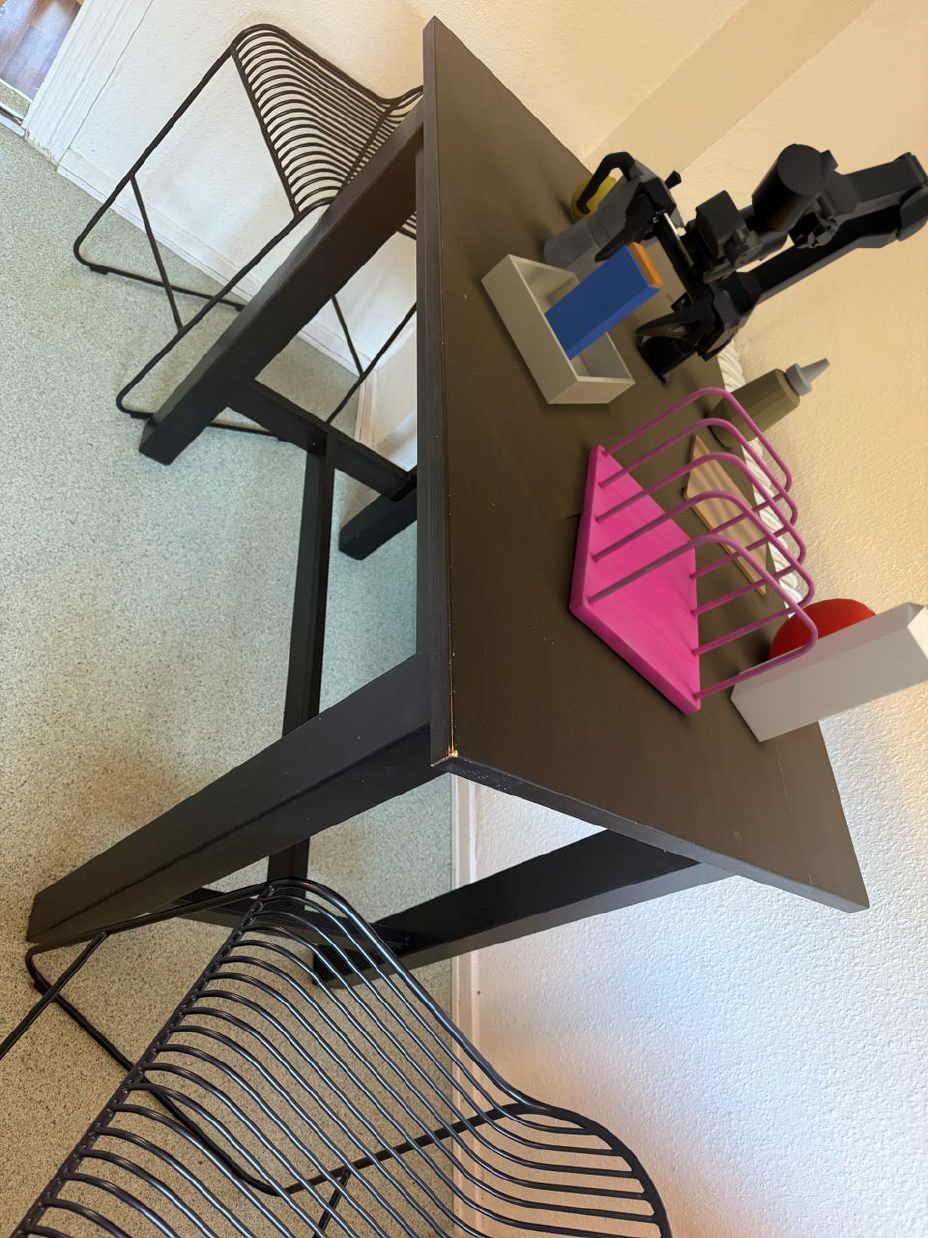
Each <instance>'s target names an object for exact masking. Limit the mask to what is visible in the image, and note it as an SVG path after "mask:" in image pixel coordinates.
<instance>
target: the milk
mask: <svg viewBox="0 0 928 1238" xmlns="http://www.w3.org/2000/svg"><path fill="white" fill-rule="evenodd" d="M802 647H803V646H802ZM799 648H801V647H799ZM799 648H797V649H799ZM797 649H795V650H797ZM795 650H792V651H790V652H788V653H785V654H783V655H780V656H778V657H776V658H773V659H771V660H769V659H768V660H767V661H764V662H762V663H759V664H757V665H755V666H753V667H750V668H748V669H745V670H743V671H741V672H739V673H738V675H740V674H742V673H744V672H747V671H749V670H752V669H754V668H756V667H758V666H761V665H763V664H766V663H768V662H770V661H773V660H775V659H777V658H779V657H782V656H784V655H786V654H789V653H791V652H793V651H795ZM926 682H928V604H919V603H915V602H911V601H906V602H903V603H901V604H899V605H896V606H894V607H891V608H889V609H887V610H885V611H883V612H880V613H876V615H875V616H872V617H870V618H868V619H865V620H863V621H861V622H858V623H856V624H854V625H851V626H849V627H846V628H844V629H842V630H839V631H837V632H835V633H832V634H830V635H828V636H825V637H823V638H821V639H818V640H817V642H816V644H815V646H814V647H813V648H812V649H811V650H810V651H809V652H807V653H806V654H804V655H802V656H800V657H798V658H796V659H794V660H791V661H789V662H787V663H785V664H782V665H780V666H777V667H775V668H773V669H770V670H768V671H766V672H763V673H761V674H759V675H756V676H754V677H751V678H749V679H747V680H744V681H742V682H739V683H737V684H735V685H733V689H732V693H731V695H730V697H729V699H730V701H731V702H732V704H733V705H734V707H735V709H737V711H738V713H739V714H740V715H741V718H743V720H744V721H745V723H746V724H747V726H748V727H749V729H750V730H751V732H752V734H753V735H754V736H755V738H756V739H757V741H758V742H759V743H761V742H763V741H767V740H769V739H772V738H775V737H778V736H781V735H783V734H786V733H789V732H791V731H794V730H797V729H801V728H803V727H805V726H808V725H811V724H813V723H816V722H819V721H821V720H825V719H828V718H830V717H833V716H835V715H838V714H841V713H844V712H847V711H849V710H852V709H854V708H858V707H861V706H863V705H866V704H870V703H871V702H875V701H876V700H879V699H883V698H886V697H888V696H891V695H893V694H896V693H900V692H902V691H904V690H907V689H910V688H913V687H916V686H918V685H921V684H924V683H926Z"/></svg>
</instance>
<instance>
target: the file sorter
mask: <svg viewBox="0 0 928 1238" xmlns="http://www.w3.org/2000/svg"><path fill="white" fill-rule="evenodd" d="M706 395H718V396H721V397H722V398H723V397H725V398H726V399H727V400H728V401H729V402H730V403H731V404H732V406H733V407H734V408H735V409H736V411H737V412H738V413H739V414H740V416H741V417H742V418H743V419H744V421H745V422H746V423H747V425H748V426H749V427H750V428H751V430H752V431H753V432H754V434H755V435H756V436H757V437H756V438H757V439H758V440H759V441H760V443H761V444H762V446H764V448H765V449H766V451H767V452H768V453H769V455H770V456H771V457H772V459H773V461H775V463H776V464H777V465H778V467H779V468H780V469H781V470H782V472H783V474H784V475H785V478H786V479H785V485H784V486H783V485H782V483H781V482H780V481H779V479H778V478H777V477H776V476H775V474H773V472H772V471H771V469H770V468H769V467H768V466H767V464H766V463H765V462H764V460H763V459H762V458H761V457H760V456H759V454H758V453H757V452H756V450H755V449H754V448H753V447H752V445H751V444H750V443H749V442H747V441H746V439H745V438H744V437H743V436H742V434H741V433H740V432H739V431H738V430H737V429H736V427H735V426H734V425H732V424H731V423H730V422H728V421H725V420H723V419H718V418H708V417H707V418H704V419H700V420H698V421H696V422H694V423H692V424H690V425H688V426H687V427H686V428H684V429H683V430H681V431H679V432H678V433H676V434H674V435H673V436H671V437H669V438H668V439H666V440H665V441H664V442H662V443H660V444H659V445H657V446H655V447H654V448H652V449H650V450H649V451H648V452H645V454H643V455H642V456H640V457H638V458H636V459H635V460H633V461H632V462H631V463H629V464H627V465H626V466H624V467H623V466H622V465H621V464H620V463H619V462H618V461H617V460H616V459H615V458H614V457H613V456H612V454H613V453H614V452H616V451H618V450H619V449H621V448H622V447H624V446H625V445H627V444H629V443H630V442H631V441H633V440H635V439H636V438H638V437H639V436H641V435H643V434H644V433H645V432H648V431H649V430H650V429H653V427H655V426H657V425H658V424H659V423H661V422H663V421H664V420H665V419H667V418H669V417H670V416H671V415H673V414H675V413H676V412H678V411H679V410H681V409H683V408H684V407H685V406H687V405H689V404H690V403H693V402H694V401H696V400H697V399H699V398H701V397H702V396H706ZM710 425H719V426H722V427H724V428H726V429H728V430H729V431H730V432H731V433H732V434H733V435H734V436H735V438H736V439H737V440H738V441H739V443H740V444H739V445H741V446H742V448H743V449H744V451H746V453H747V454H748V455H749V456H750V457H751V459H752V460H753V461H754V462H755V464H756V465H757V466H758V468H759V469H760V470H761V471H762V472H763V474H764V475H765V476H766V478H767V479H768V480H769V481H770V483H771V484H772V486H773V487H774V488H775V489H776V491H777V492H778V493H777V494H776V495H774V496H771V495H770V493H769V492H768V490H767V489H766V488H765V487H764V486H763V484H762V483H761V482H760V480H759V479H758V478H757V476H756V475H755V474H754V473H753V471H752V470H751V469H750V468H749V466H748V465H747V464H746V463H745V461H743V459H742V458H740V457H739V456H737V455H736V454H733V453H730V452H725V451H714V452H710V453H709V454H706V455H704V456H701V457H699V458H698V459H696V460H694V461H692V462H690V463H689V462H688V463H687V464H685V465H683V466H682V467H680V468H678V469H677V470H675V471H673V472H671V473H669V474H668V475H666V476H664V477H662V478H660V479H659V480H657V481H656V482H654V483H652V484H651V485H649V486H647V487H646V488H644V489H643V487H642V486H641V485H640V484H639V483H638V482H637V481H636V480H635V479H634V478H633V477H632V476H631V475H630V474H629V473H630V472H631V471H634V469H637V468H638V467H639V466H641V465H642V464H644V463H646V462H647V461H648V460H650V459H652V458H654V457H656V456H657V455H658V454H660V453H661V452H663V451H664V450H666V449H667V448H669V447H670V446H672V445H674V444H675V443H677V442H679V441H681V440H682V439H684V438H686V437H687V436H688V435H690V434H692V433H694V432H696V431H697V430H699V429H700V428H703V427H706V426H710ZM715 459H716V460H724V461H728V462H730V463H732V464H734V465H736V466H737V467H738V469H740V471H741V472H742V473H743V475H744V476H745V477H746V479H747V480H748V481H749V482H750V483H751V484H752V486H753V487H754V488H755V490H756V491H757V492H758V493H759V495H760V496H761V497H762V499H763V500H764V501H763V502H761V503H759V504H757V505H755V506H753V507H752V509H750V508H749V506H748V505H747V504H746V503H745V502H744V501H743V500H742V499H741V498H739V497H738V496H736V495H735V494H733V493H730V492H727V491H722V490H711V491H707V492H703V493H700V494H698V495H696V496H694V497H692V498H690V499H688V500H687V501H686V500H685V501H683V502H681V503H680V504H678V505H676V506H674V507H673V508H671V509H669V510H667V511H665V510H664V509H663V508H662V507H661V506H660V505H659V504H658V503H657V502H656V501H655V500H654V499H653V498H652V497H651V496H650V494H652V493H653V492H655V491H657V490H659V489H660V488H662V487H665V486H666V485H667V484H669V483H671V482H673V481H675V480H676V479H678V478H680V477H682V476H684V475H686V474H687V472H689V471H691V470H692V469H694V468H696V467H697V466H699V465H701V464H703V463H705V462H707V461H710V460H715ZM792 485H793V476H792V473H791V470H790V468H789V467H788V466H787V464H786V463H785V462H784V461H783V459H782V458H781V456H780V455H779V453H777V451H776V450H775V448H774V447H773V446H772V444H771V443H770V442H769V440H768V439H767V438H766V436H765V435H764V434H763V433H761V431H760V430H759V429H758V427H757V426H756V425H755V423H754V422H753V421H752V419H751V418H750V417H749V416H748V414H747V413H746V412H745V411H744V409H743V408H742V407H741V405H740V404H739V403H738V402H737V400H736V399H735V398H734V397H733V396H732V395H731V394H730V392H729V391H728V390H726V389H723V388H721V387H717V386H709V387H703V388H700V389H698V390H696V391H694V392H693V393H691V394H689V395H687V396H686V397H685V398H683V399H681V400H680V401H678V402H677V403H675V404H674V405H671V406H670V407H669V408H667V409H666V410H664V411H663V412H661V413H659V414H658V415H657V416H655V417H654V418H652V419H651V420H649V421H647V422H646V423H644V424H643V425H641V426H640V427H639V428H637V429H635V430H634V431H632V432H631V433H629V434H627V435H626V436H624V437H623V438H621V439H620V440H618V441H617V442H615V443H614V444H613V445H610V447H607V449H605V448H604V447H603V446H602V445H601V444H598V445H596V446H595V447H593V448H592V449H590V450H589V457H588V467H587V477H586V485H585V494H584V502H583V509H582V510H583V511H582V512H581V513H580V514H579V523H578V531H577V539H576V549H575V556H574V565H573V571H572V572H573V573H572V582H571V589H570V598H569V605H568V609H569V611H570V613H571V614H573V616H575V617H576V618H577V619H578V620H579V621H580V622H582V623H583V624H584V625H585V626H586V627H587V628H588V629H589V630H591V631H592V632H593V633H594V634H595V635H596V636H597V637H598V638H600V639H601V641H603V642H604V643H605V644H606V645H607V646H608V647H610V648H611V649H612V650H613V651H614V652H615V653H616V654H617V655H619V657H621V658H622V659H623V660H624V661H625V662H626V663H628V664H629V666H631V667H632V668H633V669H634V670H636V672H637V673H639V675H640V676H642V677H643V678H644V679H645V680H647V681H648V682H649V683H650V684H651V685H652V686H653V687H655V688H656V690H658V691H659V692H660V693H661V694H662V695H663V696H664V697H665V698H666V699H668V700H669V701H670V702H671V703H672V704H673V705H674V706H675V707H677V709H678V710H680V711H681V712H682V713H683V714H684V715H685V716H689V715H691V714H693V713H696V712H698V711H699V710H701V699H704V698H706V697H708V696H711V695H713V694H715V693H718V692H720V691H723V690H725V689H727V688H729V687H732V686H735V684H737V683H739V682H742V681H744V680H747V679H749V678H751V677H754V676H756V675H759V674H761V673H763V672H766V671H768V670H770V669H773V668H775V667H777V666H780V665H782V664H785V663H787V662H789V661H791V660H794V659H796V658H798V657H800V656H802V655H804V654H806V653H807V652H809V651H810V650H811V649H812V648H813V647H814V646H815V644H816V642H817V639H818V632H817V628H816V626H815V624H814V623H813V621H812V620H811V619H810V618H809V617H808V616H807V615H806V613H805V612H804V611H803V610H802V609H803V608H805V607H806V606H808V605H810V604H811V602H812V601H813V599H814V598H815V597H814V596H815V594H816V587H815V582H814V580H813V578H812V577H811V575H809V573H808V572H807V571H806V569H805V568H804V567H803V566H802V565H803V564H804V562H805V560H806V558H807V547H806V543H805V541H804V540H803V538H802V536H800V534H799V532H798V531H797V530H796V527H795V525H796V523H797V521H798V518H799V510H798V507H797V503H796V502H795V501H794V499H793V498H792V496H791V495H790V494H789V492H790V490H791V488H792ZM710 498H722V499H727V500H729V501H731V502H733V503H734V504H736V505H737V506H738V507H739V508H740V509H741V510H742V512H743V513H742V514H740V515H738V516H736V517H735V518H733V519H731V520H729V521H727V522H725V523H723V524H721V525H719V526H718V527H716V528H714V529H712V530H708V531H706V532H704V533H703V534H700V535H699V536H696V537H695V538H693V539H691V538H690V537H689V535H688V534H687V533H686V532H684V530H682V528H681V527H680V526H679V525H678V524H677V523H676V522H675V521H674V520H673V519H672V518H673V517H675V516H677V515H679V514H680V513H682V512H684V511H686V510H688V509H689V508H691V506H693V505H695V504H697V503H699V502H701V501H703V500H706V499H710ZM782 499H783V500H784V501H785V502H786V503H787V505H788V506H789V508H790V511H791V517H790V520H789V519H788V517H787V516H786V514H785V513H784V512H783V511H782V510H781V508H780V506H779V505H778V504H777V503H778V502H779V501H780V500H782ZM768 507H769V508H770V509H771V511H772V512H773V514H775V516H776V517H777V518H778V519H779V521H780V523H781V524H782V525H783V526H782V527H780V528H779V529H778V530H775V531H774V532H772V531H771V529H770V528H769V527H768V526H767V524H766V523H765V522H764V521H763V520H762V521H763V522H764V523H765V524H764V523H763V522H762V521H761V520H760V519H759V517H760V516H759V517H758V516H757V515H756V514H755V513H757V514H758V513H759V512H760V511H763V510H764V509H766V508H768ZM747 517H748V518H749V519H750V520H751V521H752V522H753V523H754V524H755V526H756V527H757V528H758V529H759V530H760V531H761V532H762V533H763V534H764V535H765V537H764V538H762V539H760V540H758V541H756V542H754V543H752V544H750V545H748V546H746V547H744V546H743V545H742V544H741V543H739V542H738V541H737V540H735V539H733V538H731V537H728V536H724V535H717V533H719V532H720V531H722V530H724V529H726V528H728V527H730V526H732V525H734V524H736V523H738V522H740V521H742V520H743V519H745V518H747ZM786 533H789V534H790V536H791V538H792V539H793V540H794V541H795V543H796V544H797V546H798V547H799V555H798V557H797V559H796V558H795V557H794V555H793V554H792V553H791V552H790V551H789V550H788V549H787V548H786V546H785V545H784V544H783V543H782V541H780V540H779V538H780V537H781V536H783V535H785V534H786ZM710 543H713V544H714V543H715V544H716V543H717V544H720V543H722V544H726V545H729V546H731V547H732V548H734V549H735V550H736V552H734V553H732V554H730V555H729V554H728V555H726V556H724V557H721V558H720V559H719V560H716V561H714V562H712V563H710V564H708V565H706V566H705V567H703V568H701V569H698V570H697V569H696V567H697V566H696V550H695V549H696V548H698V547H699V546H702V545H705V544H710ZM768 543H770V544H771V545H772V546H773V547H774V548H775V549H776V550H777V551H778V552H779V553H780V555H781V556H782V557H783V558H784V559H785V561H787V562H788V564H789V565H788V566H786V567H784V568H782V569H780V570H778V571H776V572H773V573H772V574H770V572H769V571H768V570H767V568H766V569H765V568H764V567H763V566H762V565H761V564H760V563H759V562H758V561H757V560H756V559H755V558H754V557H753V556H752V555H751V553H750V551H752V550H754V549H756V548H758V547H760V546H762V545H764V544H766V545H767V544H768ZM740 556H742V557H743V558H744V559H745V560H746V561H747V562H748V563H749V564H750V565H751V566H752V567H753V568H754V569H755V570H756V572H757V573H758V574H759V575H760V576H761V577H762V578H763V579H761V580H759V581H756V582H754V583H749V584H748V585H745V586H743V587H741V588H739V589H736V590H735V591H732V592H730V593H727V594H725V595H723V596H721V597H719V598H716V599H714V600H712V601H709V602H708V603H706V604H703V605H700V606H699V607H698V595H697V592H698V591H697V579H698V578H700V577H701V576H704V575H706V574H708V573H710V572H712V571H714V570H716V569H718V568H719V567H722V566H724V565H726V564H728V563H729V562H732V561H734V559H736V558H738V557H740ZM795 571H796V573H797V574H798V575H799V576H800V577H801V579H803V581H804V582H805V583H806V584H807V587H808V591H807V593H806V595H805V596H804V597H803V599H801V600H800V601H798V602H796V601H795V600H794V599H793V598H792V596H791V595H790V594H788V592H787V591H786V590H785V589H784V588H783V586H782V585H781V584H780V583H779V582H778V581H777V580H779V579H781V578H784V577H786V576H787V575H790V574H791V573H794V572H795ZM764 585H768V586H769V587H770V588H771V589H772V590H773V591H774V593H776V594H777V595H778V596H779V597H780V598H781V600H782V601H784V603H785V604H786V605H787V606H788V607H786V608H784V609H782V610H779V611H777V612H774V613H773V614H771V615H769V616H766V617H764V618H762V619H759V620H757V621H755V622H752V623H750V624H747V625H746V626H743V627H741V628H739V629H737V630H734V631H732V632H731V633H728V634H726V635H724V636H721V637H719V638H717V639H713V640H712V641H710V642H707V643H706V644H703V645H700V646H699V621H698V616H699V615H701V614H703V613H705V612H707V611H709V610H712V609H715V608H716V607H719V606H721V605H723V604H726V603H727V602H730V601H732V600H734V599H737V598H739V597H741V596H744V595H746V594H748V593H750V592H753V591H754V590H756V589H757V588H759V587H761V586H764ZM795 613H796V614H797V616H798V617H799V618H800V619H801V620H802V621H803V622H804V623H805V625H806V626H807V627H808V628H809V629H810V631H811V637H810V639H809V641H808V642H807V644H806V645H804V646H803V647H801V648H799V649H797V650H795V651H793V652H791V653H789V654H786V655H784V656H782V657H779V658H777V659H775V660H773V661H770V662H768V663H766V664H763V665H761V666H758V667H756V668H754V669H752V670H749V671H747V672H744V673H742V674H740V675H739V674H737V675H735V676H732V677H731V678H728V679H725V680H724V681H721V682H718V683H716V684H714V685H712V686H709V687H707V688H705V689H702V690H701V683H700V682H701V681H700V680H701V679H700V655H701V654H704V653H706V652H708V651H711V650H713V649H716V648H717V647H719V646H722V645H725V644H727V643H729V642H732V641H734V640H736V639H739V638H740V637H742V636H744V635H747V634H749V633H752V632H754V631H756V630H758V629H761V628H763V627H765V626H767V625H769V624H772V623H774V622H777V621H778V620H781V619H783V618H786V617H787V616H790V615H793V614H795Z"/></svg>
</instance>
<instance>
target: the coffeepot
mask: <svg viewBox="0 0 928 1238" xmlns="http://www.w3.org/2000/svg"><path fill="white" fill-rule="evenodd" d="M616 169H619V170H620V172H621V173H622V174H621V176H620V177H619V178H618V180H616V181H617V182H616V183H615V185H614V186H613V187H612V188H611V189H610V191H609V192H608V193H607V194H606V195H605V197H604V198H603V199H602V200H601V201H600V202H599V204H598V206H597V211H596V212H594V213H593V214H592V215H591V216H590V217H589V218H583V219H582V220H580V221H579V220H577V222H575V223H574V224H572V225H571V226H569V227H567V228H565V229H564V230H563V231H561V232H559V233H558V234H557V235H555V236H553V237H552V238H550V239H549V240H547V241H545V242H544V248H543V257H544V259H545V261H546V263H547V265H549V266H553V267H556V268H560V269H564V270H567V271H571V272H574V274H575V275H576V277H577V279H578V281H579V283H581V282H582V281H583V280H584V279H586V278H587V277H588V276H589V275H590V274H591V273H593V272H594V271H595V270H596V269H597V268H599V267H600V266H601V265H602V264H603V263H605V262H606V261H607V260H605V261H601V262H597V263H596V262H595V261H594V258H595V256H596V254H597V253H598V252H599V251H600V250H601V249H602V248H603V247H604V246H605V245H607V244H608V243H609V242H610V241H611V240H612V239H613V238H614V237H615V236H616V235H617V234H618V233H619V232H620V231H621V230H622V229H623V228H624V224H625V222H626V220H627V219H626V214H625V211H626V209H627V207H628V205H629V203H630V200H631V198H632V196H633V194H634V192H635V190H636V188H637V186H638V184H639V182H640V181H642V180H645V179H647V178H649V177H652V176H658V175H657V174H656V173H655V172H654V171H653V170H651V169H650V168H649V167H648V166H646V165H645V164H643V163H642V162H641V161H639V159H637V158H634V156H632V155H631V153H629V151H617V152H610V153H608V154H606V155H605V156H604V157H603V158H602V159H601V161H600V162H599V164H598V166H597V167H596V169H595V171H594V172H593V174H592V175H593V176H592V175H591V176H592V178H591V179H590V181H589V183H588V184H587V186H586V187H585V189H584V191H583V192H582V194H581V195H580V197H579V199H578V200H577V202H576V207H577V209H578V210H579V211H580V212H581V213H582V214H584V215H586V214H589V213H590V212H591V210H590V209H589V208H588V207H587V202H588V201H589V200H590V199H591V198H592V197H593V196H594V195H595V194H596V193H597V191H598V188H599V186H600V185H601V184H602V183H603V182H604V180H605V179H606V178H607V177H608V176H610V174H611V173H612V171H613V170H616ZM663 181H664V183H665V185H666V186H667V188H668V190H669V192H670V193H671V194H672V192H671V189H673V188H675V187H676V186H678V185H680V184H681V183H682V182H683V180H682V176H681V174H680V173H679V172H678V171H676V170H675V169H673V170H672V171H671V173H670V174H669V176H668V177H666V179H665V180H663ZM670 220H671V222H672V224H673V225H674V227H675V229H676V230H678V229H679V228H680V229H684V227H685V225H686V224H685V222H684V219H683V217H682V216H681V212H680V210H679V208H678V205H677V206H676V208H675V210H674V212H673V213H672V215H671V217H670ZM657 242H659V241H658V239H657V237H656V236H655V237H654V238H652V239H650V240H647V241H644V240H642V241H641V243H640V245H642V246H643V248H644V250H646V249H647V248H649V247H650V246H652V245H654V244H655V243H657Z"/></svg>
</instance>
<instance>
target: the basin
mask: <svg viewBox="0 0 928 1238" xmlns="http://www.w3.org/2000/svg"><path fill="white" fill-rule="evenodd" d="M480 281H481V283H482V285H483V287H484V290H485V291H486V293H487V294H488V296H489V298H490V300H491V302H492V303H493V306H494V307H495V309H496V311H497V312H498V314H499V317H500V318H501V320H502V322H503V324H504V325H505V327H506V329H507V331H508V333H509V335H510V336H511V338H512V340H513V342H514V344H515V345H516V346H515V347H517V350H518V351H519V353H520V354H521V357H522V358H523V360H524V363H525V364H526V366H527V367H528V369H529V371H530V374H531V375H532V377H533V379H534V380H535V382H536V384H537V387H538V388H539V390H540V392H541V394H542V395H543V397H544V399H545V401H546V403H547V404H550V405H551V404H556V405H557V404H609V403H610V402H611V401H613V400H614V399H616V398H617V397H619V396H620V395H621V394H623V393H624V392H625V391H627V390H628V389H629V388H631V387H632V386H633V385H635V384H636V381H635V380H634V377H633V376H632V374H631V372H630V370H629V369H628V367H627V365H626V364H625V361H624V360H623V358H622V356H621V354H620V353H619V351H618V349H617V347H616V345H615V344H614V342H613V340H612V338H611V336H610V334H609V333H608V332H606V333H605V334H604V335H603V336H601V337H600V338H599V339H597V340H596V341H595V342H594V343H592V344H591V345H590V346H588V347H587V348H586V349H585V350H583V351H582V352H581V353H579V354H578V355H577V356H576V357H574V358H573V359H572V360H570V361H569V359H568V357H567V355H566V354H565V352H564V350H563V348H562V346H561V344H560V343H559V341H558V339H557V337H556V335H555V334H554V332H553V330H552V328H551V326H550V325H549V323H548V321H547V319H546V317H545V315H544V313H545V312H546V311H548V310H549V309H550V308H551V307H552V306H554V305H555V304H556V303H557V302H558V301H560V300H561V299H562V298H563V297H564V296H565V295H567V294H568V293H569V292H570V291H571V290H573V289H574V288H575V287H576V286H577V285H578V284H580V283H579V281H578V279H577V277H576V275H575V274H574V272H571V271H567V270H564V269H560V268H556V267H553V266H549V265H548V264H546V263H542V262H539V261H535V260H530V259H528V258H524V257H520V256H517V255H514V254H510V253H508V254H507V255H506V256H504V258H502V260H500V261H499V262H498V263H497V264H496V265H495V266H494V267H492V268H491V269H490V271H488V272H487V273H486V274H485V275H484V276H483V277H482V278H481V279H480Z"/></svg>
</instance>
